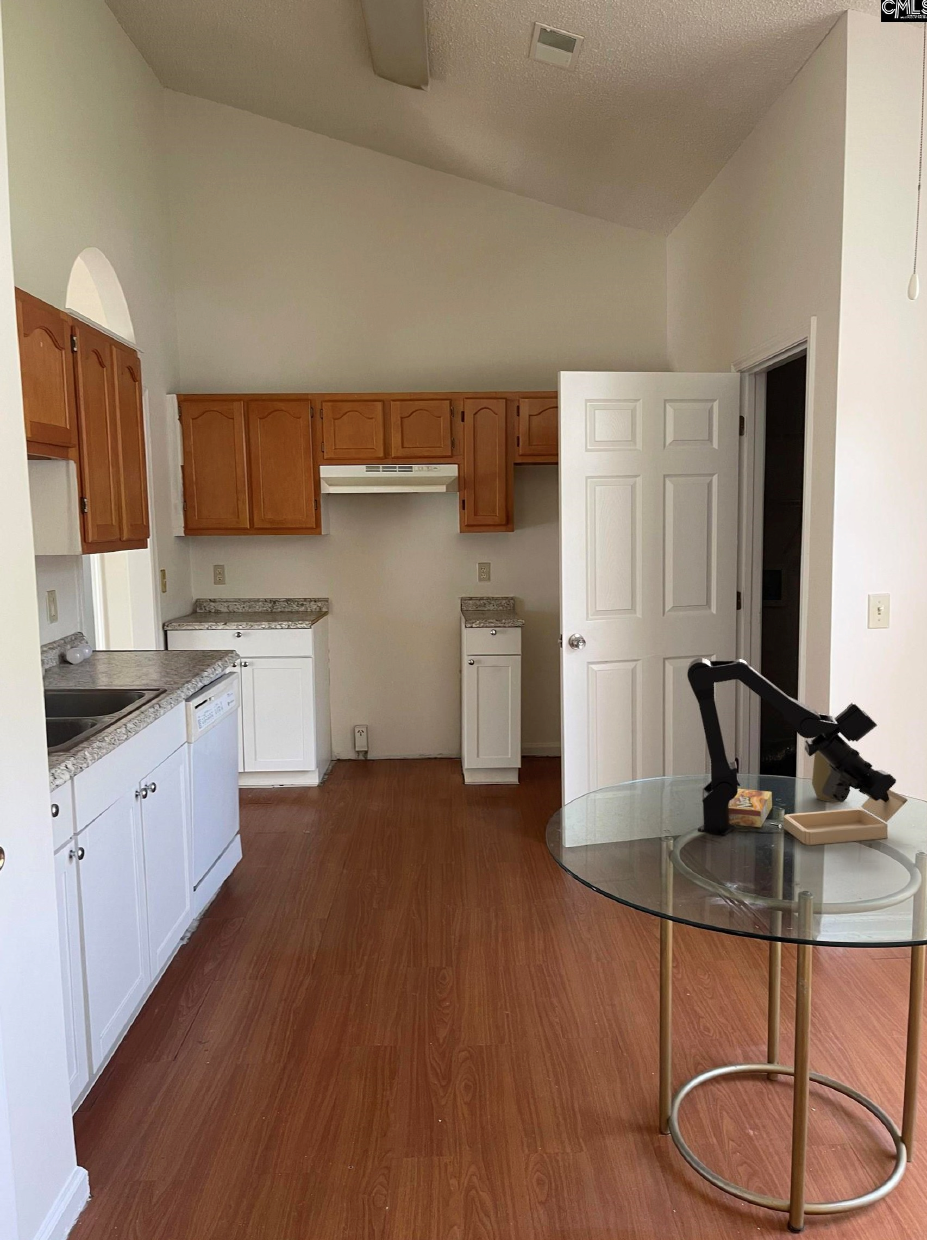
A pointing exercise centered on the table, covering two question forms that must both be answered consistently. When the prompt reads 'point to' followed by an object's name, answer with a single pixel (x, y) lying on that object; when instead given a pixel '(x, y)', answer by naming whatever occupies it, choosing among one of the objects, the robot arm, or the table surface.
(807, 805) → the table surface
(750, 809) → the candy box
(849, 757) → the robot arm
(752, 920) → the table surface
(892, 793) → the flap
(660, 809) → the table surface
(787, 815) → the carton
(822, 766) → the squeeze bottle
